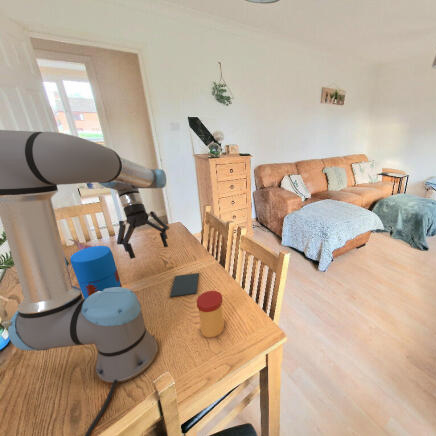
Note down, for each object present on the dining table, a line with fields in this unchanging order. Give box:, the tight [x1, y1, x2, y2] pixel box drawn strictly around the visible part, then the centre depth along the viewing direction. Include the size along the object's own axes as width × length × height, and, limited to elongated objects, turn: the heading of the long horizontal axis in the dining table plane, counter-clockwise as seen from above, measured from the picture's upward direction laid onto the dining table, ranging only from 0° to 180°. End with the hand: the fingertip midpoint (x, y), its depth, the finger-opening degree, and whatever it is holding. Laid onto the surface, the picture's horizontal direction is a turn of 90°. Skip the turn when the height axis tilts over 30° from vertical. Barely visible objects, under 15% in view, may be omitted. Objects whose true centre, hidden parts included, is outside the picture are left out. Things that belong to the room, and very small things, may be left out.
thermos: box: [69, 245, 123, 299], centre depth 84 cm, size 11×11×25 cm
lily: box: [68, 238, 94, 251], centre depth 121 cm, size 12×12×10 cm
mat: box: [169, 272, 200, 298], centre depth 104 cm, size 14×10×1 cm
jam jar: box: [197, 304, 225, 338], centre depth 81 cm, size 8×8×13 cm
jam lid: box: [196, 290, 224, 312], centre depth 79 cm, size 8×8×2 cm
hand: (150, 252), depth 101 cm, fingers open, 13 cm apart
